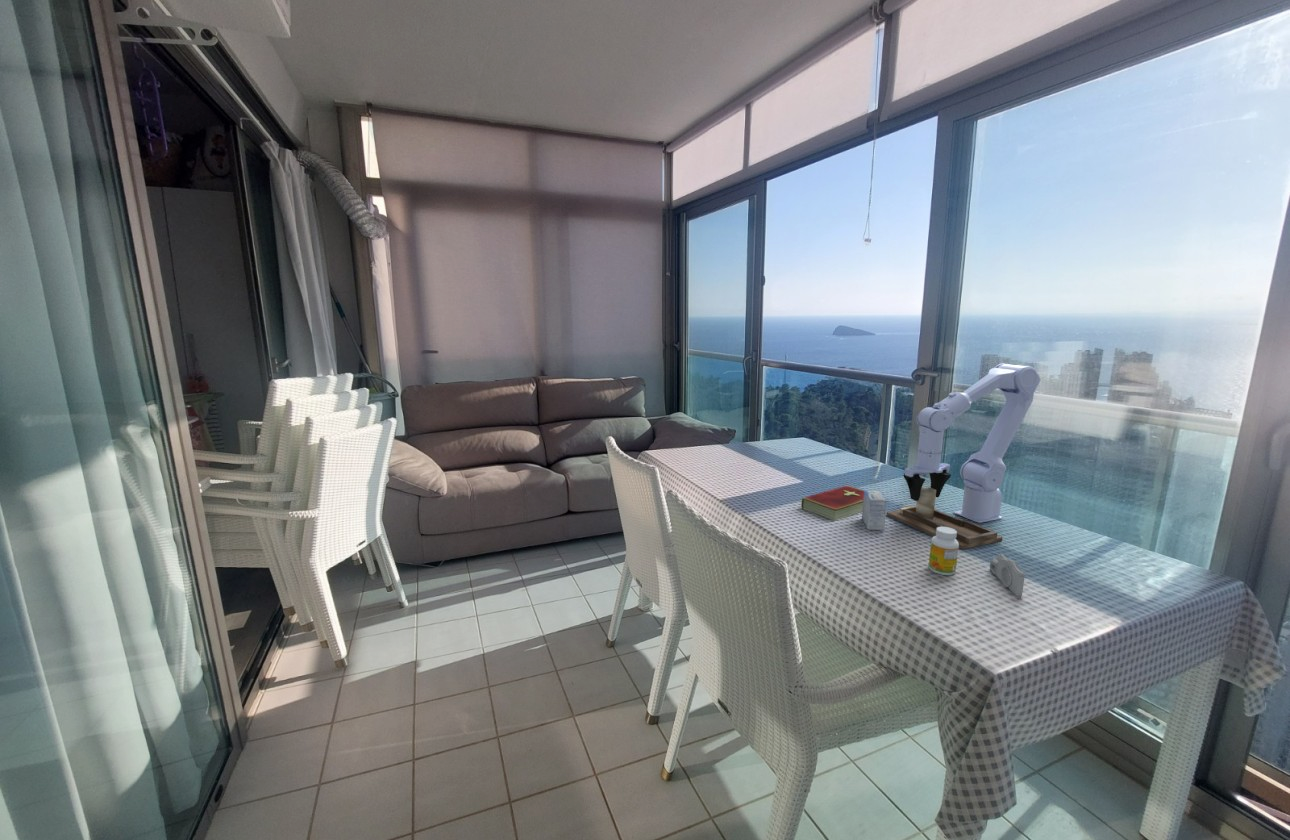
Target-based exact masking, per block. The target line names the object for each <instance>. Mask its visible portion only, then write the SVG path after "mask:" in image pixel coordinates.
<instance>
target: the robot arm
mask: <svg viewBox="0 0 1290 840" xmlns="http://www.w3.org/2000/svg"><path fill="white" fill-rule="evenodd" d="M1040 382H1041V378H1040V375H1039V373H1038V370H1037V368H1035V367H1034V366H1031V365H1026V366H1025V365H1016V364H1010V363H1003V362H1002V363H999V364H997V365H995V367H993V368H990V369H989V370H988V373H987V374H986V375H984V376H983V377H982V378H980V379H979V380H978V381H977V382H975V383H974V384H972V385H971V386H969V387H968V388H967V389H965V390H964V391H962V392H959V391H955V392H950V393H948V394H947V395H948V396H947V397H945V398H944V399H941V400H940V401H939V402H935V403H934V404H933V406H932V407H931V406H930V407H928V406H927V407H925V408H923V409H922V410H920V411H919V412H918V414H917V416H916V417H915V420H916V424H917V425H918V431H919V438H918V447H917V457H916V464H914V465H913V466H910V467H905V468H904V469H905V470H904V473H903V478H904V480H905V481H906V484H907V486H908V490H909V491H908V492H909V496H910V499H911V500H913V501H916V502H917V501H918V500H919V498H920V492H921V488H922V487H923V485H924V483H925V481H926V478H924V477H921V475H926V474H928V475H929V477H930V488H933V489H935V490H936V498H939V497H940V495H941V493H942V491H943V488H944V486H945V485H946V483H947V482H948V481H949V479H950V478H951V475H952V474H951V473H950V470H951V464H949V463H945V462H942V463H941V461H942V460H941V459H942V451H943V441H944V433H945V430H947V429H948V428H949V427H950V426H951V425H950V424H951V422H952V421H954V419H956V418H957V417H959V416H961V415H962V414H964V413H966V412H967V411H969V410H970V409H971V407H972V403H973V402H975V401H977V400H979V399H980V398H983V397H984V396H986V395H988V394H989V393H992V392H993V391H994V390H997V389H998V390H999V391H1000V392H1001V393H1002V395H1004V397H1005V403H1004V405H1003V407H1002V409H1001V411H1000V413H999V414H998V415H997V418H996V420H995V422H994V424H993V426H992V428H991V430H990V431H989V433H988V435H987V437H986V439H985V441H984V443H983V444H982V447H981V448H980V450H979V451H977V452H975V453H971V454H970V456H969V458H968V459H967V460H966V461H965V462H963V464H962V465H961V467H960V470H959V474H960V478H961V479H963V484H964V490H963V499H962V505H961V506H962V507H961V510H957V511H953V514H955V515H958V516H960V517H962V518H965V519H968V520H970V521H973V522H976V523H979V524H981V523H986V522H987V523H988V522H993V521H996V520H1001V519H1003V516H1001V515H1000V514H1001V507H1002V501H1003V495H1002V492H1001V490H1000V489H999V488H1000V487H1001V486H1002V484H1003V482H1004V477H1005V473H1006V471H1007V466H1006V465H1005V463H1004V461H1003V458H1004V456H1005V454H1006V453H1007V450H1008V448H1009V446H1011V445H1010V444H1011V443H1012V441H1013V439H1014V437H1015V435H1016V433H1017V431H1018V430H1019V429H1020V426H1021V424H1022V422H1023V421H1024V419H1025V417H1026V415H1027V413H1028V411H1029V409H1030V407H1031V405H1032V404H1033V403H1032V402H1033V401H1034V396H1035V392H1036V390H1037V387H1038V386H1039V384H1040Z"/></svg>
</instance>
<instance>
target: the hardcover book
mask: <svg viewBox="0 0 1290 840" xmlns="http://www.w3.org/2000/svg"><path fill="white" fill-rule="evenodd" d="M864 491H865V490H863V489H860V488H857V487H854V486H850V485H848V484H847V485H844V486H840V487H836V488H833V489H828V490H826V491H823V492H819V493H815V494H812V495H808V496H804V497H802V499H801V504H800V505H801V509H802V510H806V511H809V512H811V513H813V514H816V515H818V516H821V517H823V518H826V519H829V520H832V521H838V520H841V519H844V518H847V517H849V516H850V517H851V516H852V515H856V514H859V513H862V509H863V496H864Z"/></svg>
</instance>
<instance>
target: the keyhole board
mask: <svg viewBox="0 0 1290 840" xmlns="http://www.w3.org/2000/svg"><path fill="white" fill-rule="evenodd" d="M915 512H916V505H911V506H906V507H905V506H904V507H900V508H899V509H896V510H891V511H886V516H887V517H889V518H892V519H893V520H896V521H899V522H901V523H903V524H905V525H908V526H909V527H911V528H913V529H914V528H915V529H916V530H918V531H921V532H923V533H924V534H928V535H930V536H931V537H934V536H937V535H936V528H937V527H949V528H952V529H954V530H956V531H957V535H956V538H955V539H956V540H957V541H958V543H959V549H961V550H965V549H966V550H967V549H972V548H975V547H980V546H984V545H989V544H994V543H998V542H1002V541H1003V536H1000V535H998V532H997V531H994V530H992V529H989V528H986V527H983V526H981V525H979V524H976V523H973V522H971V521H969V520H966V519H961V518H958V517H955V516H953V515H951V514H948V513H945V512H943V511H940V510H938V509H936V508H934V515H933V519H929V518H926V517H924V516H921V515H919V514H917V513H915Z"/></svg>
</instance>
